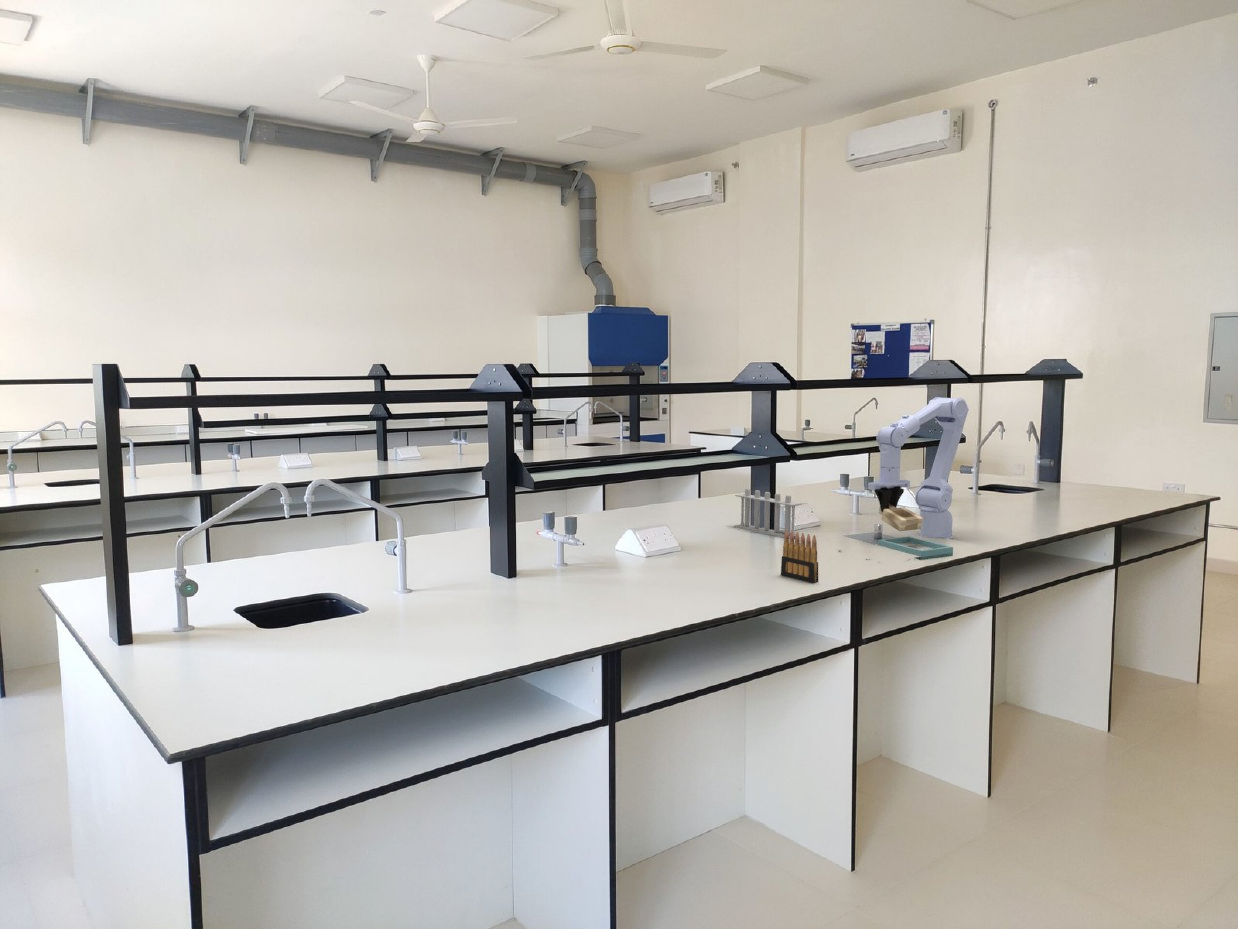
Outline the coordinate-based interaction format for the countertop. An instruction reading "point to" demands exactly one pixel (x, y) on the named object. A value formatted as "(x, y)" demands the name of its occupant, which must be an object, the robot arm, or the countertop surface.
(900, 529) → the maple collar
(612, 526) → the countertop surface
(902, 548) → the tray
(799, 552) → the ammunition clip
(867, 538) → the board
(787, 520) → the test tube rack
